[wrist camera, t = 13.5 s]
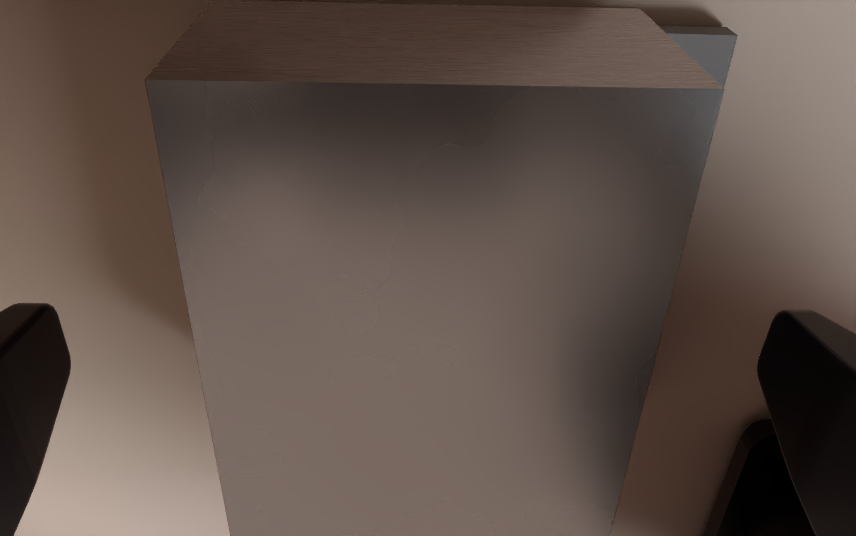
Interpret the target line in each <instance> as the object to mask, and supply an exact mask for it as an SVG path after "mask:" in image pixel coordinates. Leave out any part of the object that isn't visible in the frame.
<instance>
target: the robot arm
mask: <svg viewBox="0 0 856 536" xmlns="http://www.w3.org/2000/svg"><path fill="white" fill-rule="evenodd" d="M70 369H71V359H70V354H69V350H68V347H67V343H66V340H65V337H64V333H63V330H62V327H61V324H60V320H59V317H58V314H57V312H56V310H55V309H54V307H53V306H51V305H49V304H46V303H18V304H14V305H12V306H10V307H8V308H6V309H4V310H3V311H1V312H0V536H14V534H15V531H16V529H17V527H18V524H19V522H20V520H21V518H22V515H23V513H24V511H25V508H26V506H27V504H28V502H29V499H30V497H31V494H32V492H33V489H34V487H35V484H36V482H37V479H38V476H39V473H40V470H41V467H42V464H43V461H44V457H45V454H46V451H47V447H48V444H49V441H50V438H51V434H52V431H53V428H54V424H55V421H56V418H57V415H58V411H59V408H60V405H61V401H62V398H63V395H64V391H65V388H66V385H67V382H68V378H69V375H70ZM757 372H758V378H759V382H760V385H761V388H762V391H763V394H764V397H765V400H766V404H767V407H768V410H769V413H770V416H771V419H764V420H761V421H758V422H756V423H754V424H752V425H751V426H749V427H748V428H747V429H746V430H745V431H744V432H743V434H742V436H741V437H740V440H739V443H738V445H737V448H736V450H735V453H734V456H733V458H732V461H731V464H730V466H729V469H728V472H727V474H726V477H725V480H724V482H723V485H722V487H721V490H720V493H719V495H718V498H717V501H716V503H715V506H714V509H713V511H712V514H711V516H710V519H709V522H708V524H707V527H706V530H705V532H704V535H703V536H856V334H854V333H853V332H851V331H849V330H847V329H845V328H844V327H842V326H840V325H838V324H836V323H835V322H833V321H831V320H829V319H827V318H826V317H824V316H822V315H820V314H818V313H817V312H814V311H810V310H782V311H780V312H778V313H777V314H776V315H775V317H774V318H773V321H772V323H771V326H770V328H769V331H768V334H767V337H766V339H765V342H764V345H763V347H762V350H761V353H760V356H759V359H758V365H757Z"/></svg>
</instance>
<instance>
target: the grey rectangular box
mask: <svg viewBox="0 0 856 536" xmlns="http://www.w3.org/2000/svg"><path fill="white" fill-rule="evenodd" d="M145 84H146V89H147V94H148V100H149V105H150V110H151V116H152V121H153V126H154V132H155V137H156V142H157V148H158V153H159V158H160V164H161V169H162V174H163V180H164V185H165V190H166V196H167V201H168V206H169V211H170V217H171V222H172V227H173V233H174V238H175V243H176V249H177V254H178V259H179V265H180V270H181V275H182V281H183V286H184V291H185V297H186V302H187V307H188V313H189V318H190V323H191V329H192V334H193V339H194V345H195V350H196V355H197V361H198V366H199V371H200V376H201V382H202V387H203V392H204V398H205V403H206V408H207V414H208V419H209V424H210V430H211V435H212V440H213V446H214V451H215V456H216V462H217V467H218V472H219V478H220V483H221V488H222V494H223V499H224V504H225V510H226V515H227V520H228V526H229V531H230V536H610V533H611V529H612V525H613V521H614V517H615V513H616V509H617V506H618V502H619V498H620V494H621V490H622V486H623V482H624V478H625V474H626V470H627V467H628V463H629V459H630V455H631V451H632V447H633V443H634V439H635V435H636V431H637V428H638V424H639V420H640V416H641V412H642V408H643V404H644V400H645V396H646V392H647V389H648V385H649V381H650V377H651V373H652V369H653V365H654V361H655V357H656V353H657V350H658V346H659V342H660V338H661V334H662V330H663V326H664V322H665V318H666V315H667V311H668V307H669V303H670V299H671V295H672V291H673V287H674V283H675V279H676V276H677V272H678V268H679V264H680V260H681V256H682V252H683V248H684V244H685V240H686V237H687V233H688V229H689V225H690V221H691V217H692V213H693V209H694V205H695V201H696V198H697V194H698V190H699V186H700V182H701V178H702V174H703V170H704V166H705V162H706V159H707V155H708V151H709V147H710V143H711V139H712V135H713V131H714V127H715V124H716V120H717V116H718V112H719V108H720V104H721V100H722V96H723V92H724V88H723V87H722V86H721V85H720V84H719V83H718V82H717V81H716V80H714V79H713V78H712V77H711V76H710V75H709V74H708V73H707V72H706V71H705V70H704V69H703V68H702V67H701V66H700V65H699V64H698V63H697V62H696V61H695V60H693V59H692V58H691V57H690V56H689V55H688V54H687V53H686V52H685V51H684V50H683V49H682V48H681V47H680V46H679V45H678V44H677V43H676V42H675V41H673V40H672V39H671V38H670V37H669V36H668V35H667V34H666V33H665V32H664V31H663V30H662V29H661V28H660V27H659V26H658V25H657V24H656V23H655V22H654V21H652V20H651V19H650V18H649V17H648V16H647V15H646V14H645V13H644V12H643V11H642V10H641V9H638V8H589V7H541V6H492V5H443V4H394V3H345V2H296V1H247V0H212V1H211V2H210V3H209V5H208V6H207V7H206V8H205V9H204V11H203V12H202V13H201V14H200V15H199V16H198V18H197V19H196V20H195V21H194V22H193V23H192V25H191V26H190V27H189V28H188V29H187V31H186V32H185V33H184V34H183V35H182V36H181V38H180V39H179V40H178V41H177V42H176V43H175V45H174V46H173V47H172V48H171V49H170V51H169V52H168V53H167V54H166V55H165V56H164V58H163V59H162V60H161V61H160V62H159V64H158V65H157V66H156V67H155V68H154V69H153V71H152V72H151V73H150V74H149V75H148V76H147V78H146V79H145Z"/></svg>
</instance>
